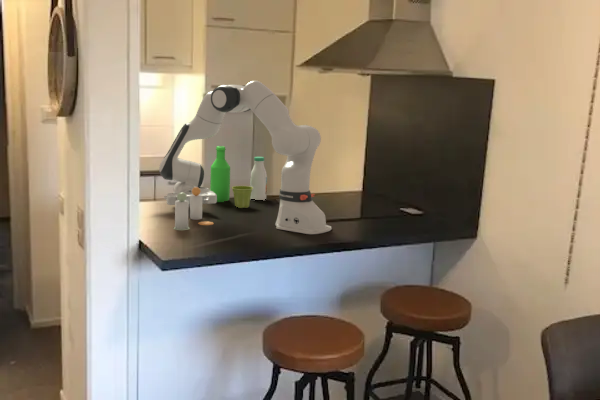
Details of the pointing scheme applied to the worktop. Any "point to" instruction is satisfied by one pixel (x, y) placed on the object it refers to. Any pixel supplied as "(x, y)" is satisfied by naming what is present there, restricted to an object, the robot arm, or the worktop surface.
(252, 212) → the worktop surface
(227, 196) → the bottle
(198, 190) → the orange ball tube
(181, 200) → the green ball tube
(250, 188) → the plant pot
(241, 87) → the robot arm
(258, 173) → the milk bottle
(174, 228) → the card
